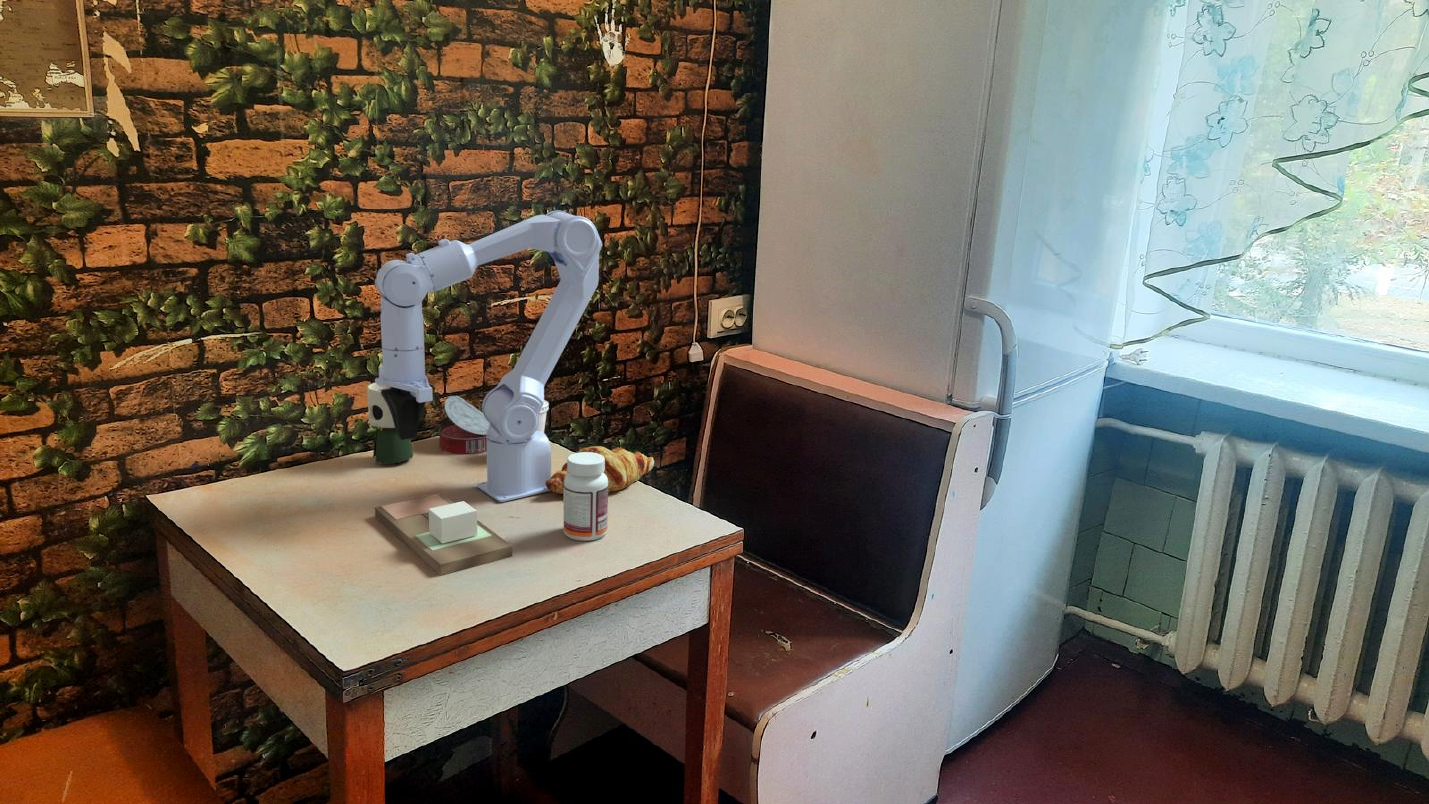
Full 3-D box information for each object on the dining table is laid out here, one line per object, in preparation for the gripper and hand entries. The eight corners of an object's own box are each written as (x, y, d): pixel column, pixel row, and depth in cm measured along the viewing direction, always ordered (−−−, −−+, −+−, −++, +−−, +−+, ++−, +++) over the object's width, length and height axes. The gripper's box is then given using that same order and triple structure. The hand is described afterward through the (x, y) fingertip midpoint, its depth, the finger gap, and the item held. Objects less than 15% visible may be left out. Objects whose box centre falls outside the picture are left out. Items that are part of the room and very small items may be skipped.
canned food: (471, 460, 173) (491, 409, 174) (498, 470, 166) (518, 417, 167) (417, 441, 166) (438, 388, 167) (442, 451, 158) (464, 396, 159)
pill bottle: (598, 522, 138) (600, 448, 135) (613, 538, 132) (615, 462, 129) (557, 527, 135) (558, 453, 132) (571, 545, 130) (571, 467, 127)
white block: (464, 524, 130) (463, 501, 129) (477, 534, 127) (476, 510, 126) (429, 533, 127) (428, 508, 126) (442, 543, 124) (441, 518, 123)
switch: (441, 502, 142) (441, 492, 141) (512, 556, 125) (512, 545, 125) (375, 517, 135) (374, 506, 135) (440, 575, 119) (440, 563, 119)
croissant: (640, 485, 162) (627, 440, 163) (677, 473, 155) (663, 427, 156) (537, 513, 147) (524, 464, 148) (573, 502, 140) (559, 450, 141)
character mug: (361, 454, 159) (356, 380, 156) (403, 448, 164) (399, 375, 160) (383, 474, 151) (378, 396, 148) (426, 467, 155) (423, 391, 152)
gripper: (356, 339, 137) (360, 428, 140) (395, 360, 126) (399, 456, 130) (403, 334, 141) (407, 421, 145) (445, 355, 130) (448, 448, 134)
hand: (406, 437), depth 138 cm, fingers closed
